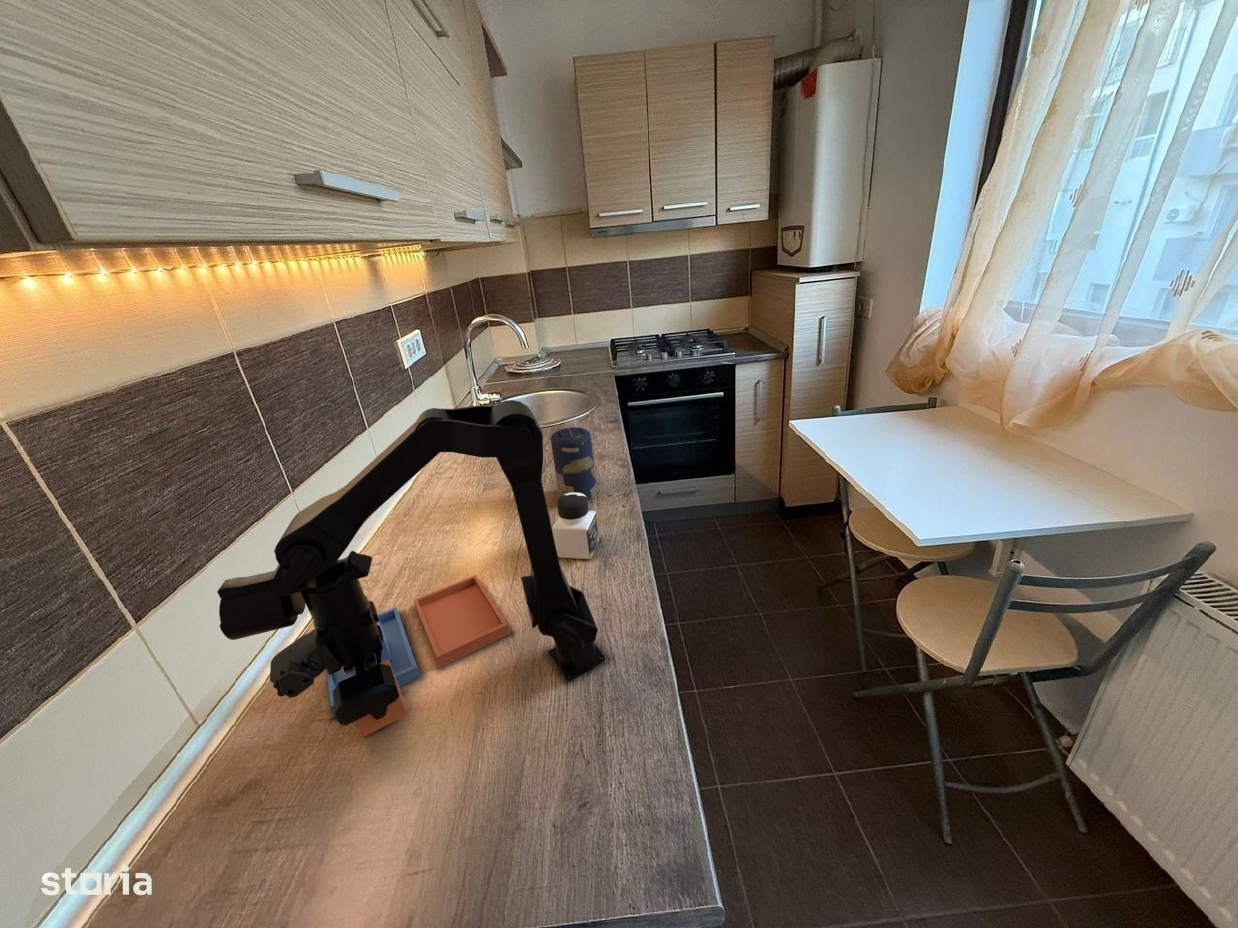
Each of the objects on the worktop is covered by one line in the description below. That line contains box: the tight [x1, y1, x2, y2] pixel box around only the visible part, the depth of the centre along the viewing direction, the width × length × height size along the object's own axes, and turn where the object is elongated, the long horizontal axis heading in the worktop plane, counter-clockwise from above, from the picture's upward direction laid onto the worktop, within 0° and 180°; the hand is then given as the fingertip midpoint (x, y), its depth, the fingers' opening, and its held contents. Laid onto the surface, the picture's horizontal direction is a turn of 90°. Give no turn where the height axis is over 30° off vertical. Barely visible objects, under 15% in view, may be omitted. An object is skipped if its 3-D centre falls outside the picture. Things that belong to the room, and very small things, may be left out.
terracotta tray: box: [413, 574, 510, 668], centre depth 80 cm, size 16×11×2 cm
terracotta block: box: [346, 659, 408, 739], centre depth 63 cm, size 6×6×6 cm
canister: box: [550, 426, 598, 501], centre depth 114 cm, size 10×10×18 cm
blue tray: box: [326, 606, 421, 719], centre depth 73 cm, size 16×11×2 cm
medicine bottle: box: [552, 493, 600, 560], centre depth 95 cm, size 7×7×12 cm
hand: (377, 701), depth 63 cm, fingers closed on terracotta block, 5 cm apart
